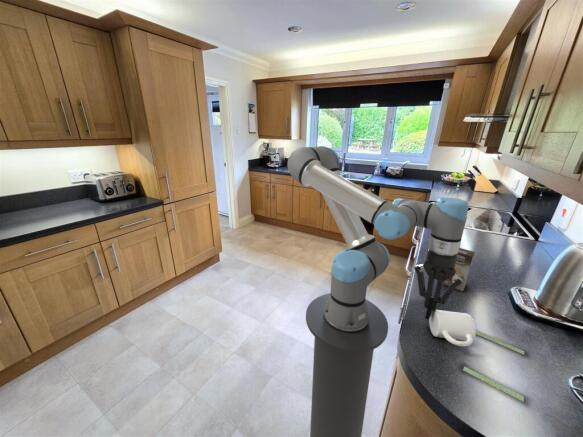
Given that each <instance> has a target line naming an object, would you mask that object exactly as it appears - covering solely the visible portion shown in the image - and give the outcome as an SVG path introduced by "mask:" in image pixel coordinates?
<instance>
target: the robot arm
mask: <svg viewBox="0 0 583 437" xmlns="http://www.w3.org/2000/svg"><path fill="white" fill-rule="evenodd" d="M340 163H341V160H340V157H339V154H338V153H337V151H336V150H335V149H333V148H332V147H329V146H325V145H320V146H302V147H298V148H295V150H293V151H292V152H290V155H289V156H288V158H287V170H288V172H289V175H290V176H291V177H292V179H294V180H295V181H296V182H297V183H299V184H300V185H303V186H304V187H312V189H315V190H316V191H318V192H319V193H321V195H322V197H323V199H324V201H325V203H326V204H327V207H328V209H329V211H330V213H331V215H332V217H333V219H334V221H335V224H336V225H337V227H338V229H339V231H340V234H341V235H342V238H343V239H344V241H345V243H346V245H345V250H342V251H339V252H338V253H336V254H335V255H334V257H333V259H332V264H331V278H330V297H329V299H328V301H327V303H326V305H325V308H324V318H325V320H326V322H327V323H328V324H329V325H330V326H331V327H332V328H334V329H336V330H338V331H341V332H345V333H357V332H360V331H362V330H364V329H365V328H366V327H367V325H368V321H369V314H368V310H367V306H366V302H365V299H366V297H367V291H368V290H367V289H368V286H369V285H370V284H371V283H373V282H374V281H375V280H376V279H377V278H378V277H380V276H381V275H382V274H383V273H384V272H385V271H386V270H387V268H388V267H389V266H390V262H391V256H390V251H389V250H388V249H387V247H386V246H385V245H384V244H383V243H380V242H379V241H377V239H376V238H375V236H374V235H372V234H369V233H368V231H367V229H366V227H365V225H364V224H363V221H362V220H361V218H362V219H364V220H366V221H367V222H369V223H370V224H372V225H373V226H374V229H375V231H376V233H377V234H378V235H379V237H381V238H382V239H385V240H389V241H391V240H396V239H398V238H400V237H403V236H404V235H406V234H408V232H409V231H410V230H412V229H413V228H415V227H418V228H422V229H428V230H431V232H430V237H429V242H428V249H427V250H426V251H427V252H426V256H425V261H424V262H423V263H421V264H420V263H417V264H416V265H415V266H414V268H413V269H414V271H415V273H416V277H417V285H418V286H417V287H418V293H419V296H421V297H423V298H424V303H423V308H425V309H426V313H425V317H424V318H425V319H426V320H428V321H429V318H430V316H431V313H432V311H436V310H438V304H441V305H444V304H445V303H446V302H447V300H448V299H449V297H451V294H452V293H453V292H454V291H455V287H456V286H458V285H460V284H461V283H462V281H463V278H462V277H459V276H457V275H456V274H455V273H456V271H455V264H456V260H457V253H458V251H459V248H461V243H462V238H463V234H464V230H465V227H466V222H467V219H468V211H469V206H470V205H469V203H468V202H467V201H466V200H464V199H461V198H456V197H439V198H438V199H437V200H436V203H435V202H433V203H432V202H426V201H421V200H414V199H409V198H399V197H398V198H395V199H394V200H393V202H392V203H391V202H389V201H387V200H386V199H384V198H382V197H380V196H378V195H377V194H375V193H373V192H371V191H369V190H367V189H365V188H364V187H362V186H360V185H358V184H356V183H354V182H353V181H351V180H350V179H347V178H345V177H344V176H342V175H341V173H342V172H341V170H340ZM424 271H425V273H426V274H427V276H428V278H427V279H428V281H427V285H426V281H425V280H426V279H425V273H424ZM451 277H453V279H452V283H451V285H450V286H448V288H447V289H446V291H445V292H444V294H443V295H442V294H441V293H442V289H443V286H444V284H443V282H444V281H446V280H447V279H449V278H451ZM435 280H436V281H437V282H436V286H435V291H434V285H435ZM426 286H427V287H426ZM433 292H434V295H433ZM441 295H442V297H441ZM432 296H433V297H432Z"/></svg>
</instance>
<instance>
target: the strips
mask: <svg viewBox="0 0 583 437" xmlns="http://www.w3.org/2000/svg"><path fill="white" fill-rule="evenodd" d="M475 336H479V337H481V338H483V339H486V340H488V341H490V342H492V343H495V344H497V345H499V346H501V347H504V348H506V349H509V350H511V351H514V352H515V353H518V354H521V355H523V356H525V351H524V350H523V349H520V348H517V347H516V346H513V345H511V344H509V343H506V342H503V341H501V340H499V339H497V338H494V337H491V336H489V335H487V334H484V333H483V332H480V331H478V330H476V335H475ZM462 371H463V372H464V373H467V374H469V375H471V376H473V377H474V378H476V379H478V380H480V381H482V382H484V383H486V384H488V385H489V386H491V387H494V388H496V389H497V390H499V391H501V392H503V393H505V394H507V395H509V396H511V397H512V398H515V399H517V400H519V401H520V402H525V396H523V395H522V394H520V393H518V392H516V391H514V390H512V389H510V388H508V387H506V386H504V385H502V384H500V383H498V382H497V381H494V380H492V379H490V378H489V377H487V376H484V375H482V374H480V373H478V372H476V371H475V370H472V369H470V368H469V367H467V366H463V369H462Z"/></svg>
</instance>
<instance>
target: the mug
mask: <svg viewBox="0 0 583 437" xmlns="http://www.w3.org/2000/svg"><path fill="white" fill-rule="evenodd" d="M428 322H429V324H428V325H429V329H430V332H431V335H432V336H434V337H436V338H443V339H445V340H446V341H447V342H448V343H451V344H452V345H455V346H458V347H470V346H471V345H472V344H473V343H474V340H475V338H476V336H477V335H476V331H477V330H476V324H475V320H474V319H473V317H472V315H470V314H469V313H466V312H457V311H450V310H442V309H436V311H432V313H431V316H430V318H429V320H428Z"/></svg>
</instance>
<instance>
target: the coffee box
mask: <svg viewBox="0 0 583 437" xmlns="http://www.w3.org/2000/svg"><path fill="white" fill-rule="evenodd" d="M475 254H476V252H475V251H473V250H469V249H466V248H462V247H459V251H458V253H457V260H456V264H455V271H456V273H455V274H456V275H457V276H459V277H462V278H463V281H462V283H461V284H460V285H458V286H456V287H455V289H456V290H459V291H460V292H464V290H465V288H466V284H467V281H468V278H469V275H470V271H471V267H472V264H473V260H474V257H475ZM452 279H453V277H451V278H449V279H447V280H446V281H444V282H443V286H447V287H449V286H450V285H451V283H452ZM455 289H454V290H455Z"/></svg>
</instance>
